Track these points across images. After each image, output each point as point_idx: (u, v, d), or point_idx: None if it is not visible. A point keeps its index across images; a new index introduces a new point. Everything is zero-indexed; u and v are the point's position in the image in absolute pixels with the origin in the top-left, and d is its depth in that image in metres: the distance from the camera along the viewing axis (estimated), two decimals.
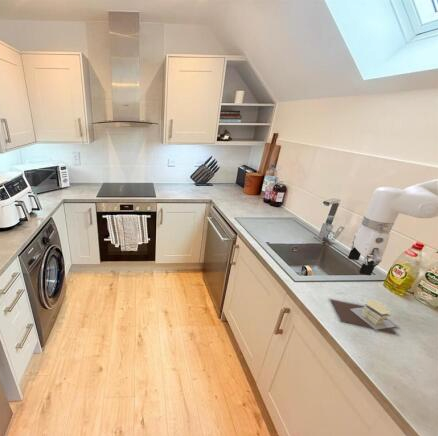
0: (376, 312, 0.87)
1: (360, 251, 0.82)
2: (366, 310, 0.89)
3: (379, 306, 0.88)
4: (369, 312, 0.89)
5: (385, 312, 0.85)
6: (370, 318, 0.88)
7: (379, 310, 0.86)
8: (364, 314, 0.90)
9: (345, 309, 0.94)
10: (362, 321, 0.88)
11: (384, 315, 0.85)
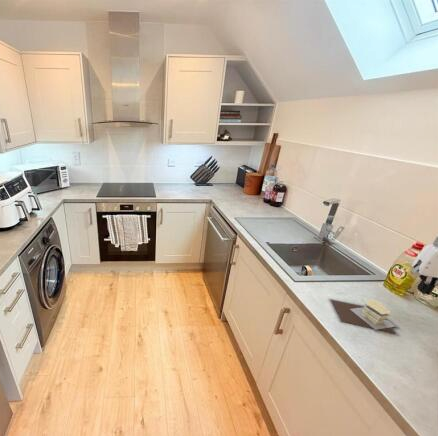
0: (376, 312, 0.87)
1: None
2: (366, 310, 0.89)
3: (379, 306, 0.88)
4: (369, 312, 0.89)
5: (385, 312, 0.85)
6: (370, 318, 0.88)
7: (379, 310, 0.86)
8: (364, 314, 0.90)
9: (345, 309, 0.94)
10: (362, 321, 0.88)
11: (384, 315, 0.85)
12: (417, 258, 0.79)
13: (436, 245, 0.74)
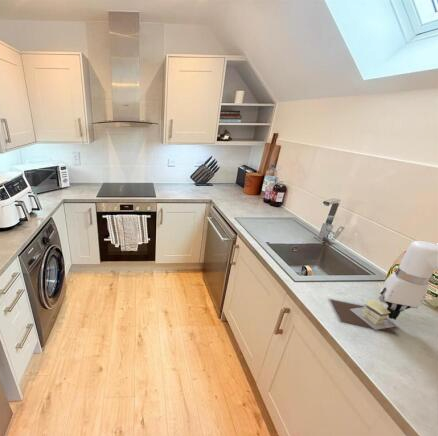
0: (376, 312, 0.87)
1: (409, 304, 0.82)
2: (366, 310, 0.89)
3: (379, 306, 0.88)
4: (369, 312, 0.89)
5: (385, 312, 0.85)
6: (370, 318, 0.88)
7: (379, 310, 0.86)
8: (364, 314, 0.90)
9: (345, 309, 0.94)
10: (362, 321, 0.88)
11: (384, 315, 0.85)
12: (383, 286, 0.86)
13: (398, 275, 0.81)
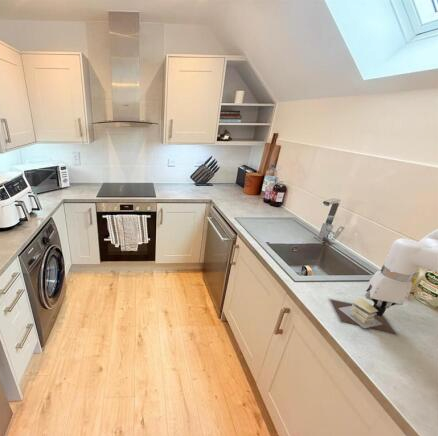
0: (364, 311, 0.87)
1: (394, 301, 0.83)
2: (354, 309, 0.90)
3: (366, 304, 0.88)
4: (357, 311, 0.89)
5: (373, 310, 0.86)
6: (358, 317, 0.89)
7: (367, 309, 0.86)
8: (352, 313, 0.91)
9: None
10: None
11: (372, 313, 0.86)
12: (369, 283, 0.87)
13: (382, 272, 0.83)
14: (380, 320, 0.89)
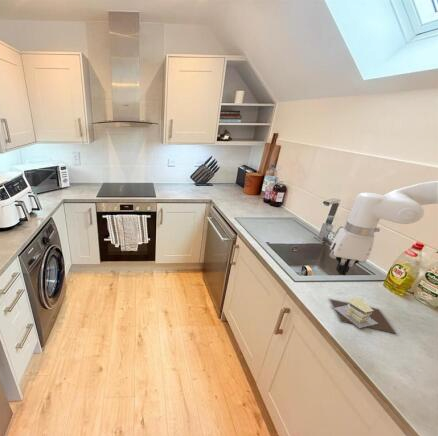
0: (359, 310, 0.87)
1: (357, 258, 0.82)
2: (350, 309, 0.90)
3: (362, 304, 0.89)
4: (353, 310, 0.89)
5: (368, 310, 0.86)
6: (354, 316, 0.89)
7: (362, 308, 0.87)
8: (348, 313, 0.91)
9: None
10: None
11: (367, 313, 0.86)
12: (333, 241, 0.86)
13: (346, 228, 0.81)
14: (380, 320, 0.89)
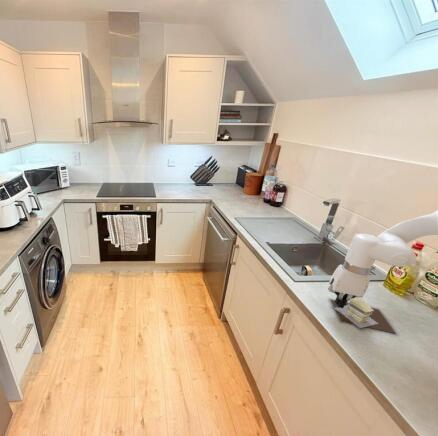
0: (360, 310, 0.87)
1: (354, 293, 0.87)
2: (350, 309, 0.90)
3: (362, 304, 0.89)
4: (353, 310, 0.89)
5: (368, 310, 0.86)
6: (354, 316, 0.89)
7: (363, 308, 0.87)
8: (348, 313, 0.91)
9: None
10: None
11: (367, 313, 0.86)
12: (332, 276, 0.91)
13: (343, 266, 0.86)
14: (380, 320, 0.89)
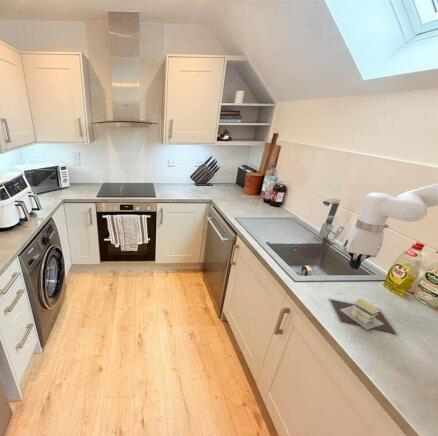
0: (366, 311, 0.87)
1: (368, 253, 0.89)
2: (356, 310, 0.89)
3: (368, 305, 0.88)
4: (359, 312, 0.89)
5: (374, 311, 0.85)
6: (360, 318, 0.89)
7: (369, 309, 0.86)
8: (354, 314, 0.90)
9: None
10: None
11: (373, 314, 0.86)
12: (345, 238, 0.93)
13: (357, 226, 0.88)
14: (380, 320, 0.89)
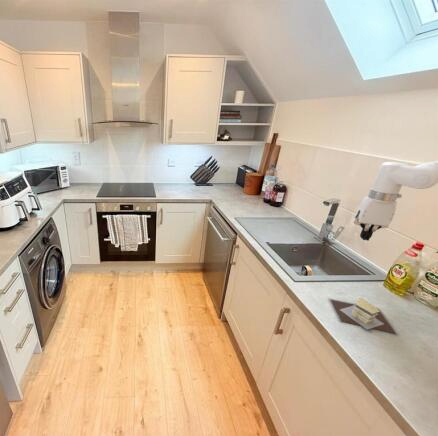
0: (366, 311, 0.87)
1: (380, 223, 0.90)
2: (356, 310, 0.89)
3: (368, 305, 0.88)
4: (359, 312, 0.89)
5: (374, 311, 0.85)
6: (360, 318, 0.89)
7: (369, 309, 0.86)
8: (354, 314, 0.90)
9: None
10: None
11: (373, 314, 0.86)
12: (357, 209, 0.94)
13: (370, 196, 0.89)
14: (380, 320, 0.89)
